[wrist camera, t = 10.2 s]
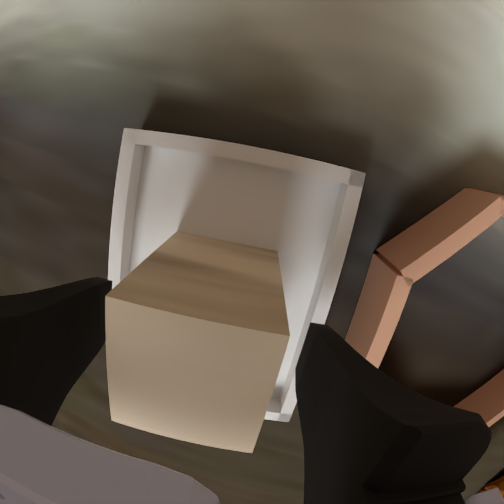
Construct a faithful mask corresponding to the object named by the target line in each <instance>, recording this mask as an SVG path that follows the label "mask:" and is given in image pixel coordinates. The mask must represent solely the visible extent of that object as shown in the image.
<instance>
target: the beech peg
mask: <svg viewBox="0 0 504 504" xmlns="http://www.w3.org/2000/svg"><path fill="white" fill-rule="evenodd" d="M105 331H106V359H107V376H108V389H109V401H110V411H111V420H112V421H115V422H118V423H121V424H124V425H127V426H130V427H134V428H137V429H140V430H144V431H147V432H151V433H155V434H158V435H162V436H166V437H170V438H174V439H178V440H183V441H187V442H192V443H196V444H201V445H206V446H211V447H217V448H222V449H228V450H235V451H241V452H248V453H252V452H253V449H254V446H255V443H256V441H257V438H258V435H259V432H260V429H261V426H262V423H263V420H264V417H265V414H266V411H267V408H268V405H269V402H270V399H271V396H272V393H273V390H274V387H275V384H276V380H277V377H278V374H279V371H280V368H281V365H282V361H283V358H284V355H285V351H286V348H287V345H288V341H289V338H290V332H289V325H288V318H287V311H286V304H285V297H284V291H283V284H282V277H281V271H280V264H279V258H278V251H274V250H269V249H264V248H259V247H254V246H249V245H244V244H239V243H234V242H229V241H224V240H219V239H214V238H209V237H204V236H199V235H194V234H189V233H184V232H178V231H177V232H175V233H174V234H173V235H172V236H171V237H170V238H169V239H167V240H166V241H165V242H164V243H163V244H162V245H161V246H159V247H158V248H157V249H156V250H155V251H154V252H153V253H152V254H150V255H149V256H148V257H147V258H146V259H145V260H144V261H143V262H141V263H140V264H139V265H138V266H137V267H136V268H135V269H134V270H133V271H132V272H130V273H129V274H128V275H127V276H126V277H125V278H124V279H123V280H122V281H121V282H120V283H119V284H117V285H116V286H115V287H114V288H113V289H112V290H111V291H110V292H109V293H108V294H107V295H106V296H105Z"/></svg>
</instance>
